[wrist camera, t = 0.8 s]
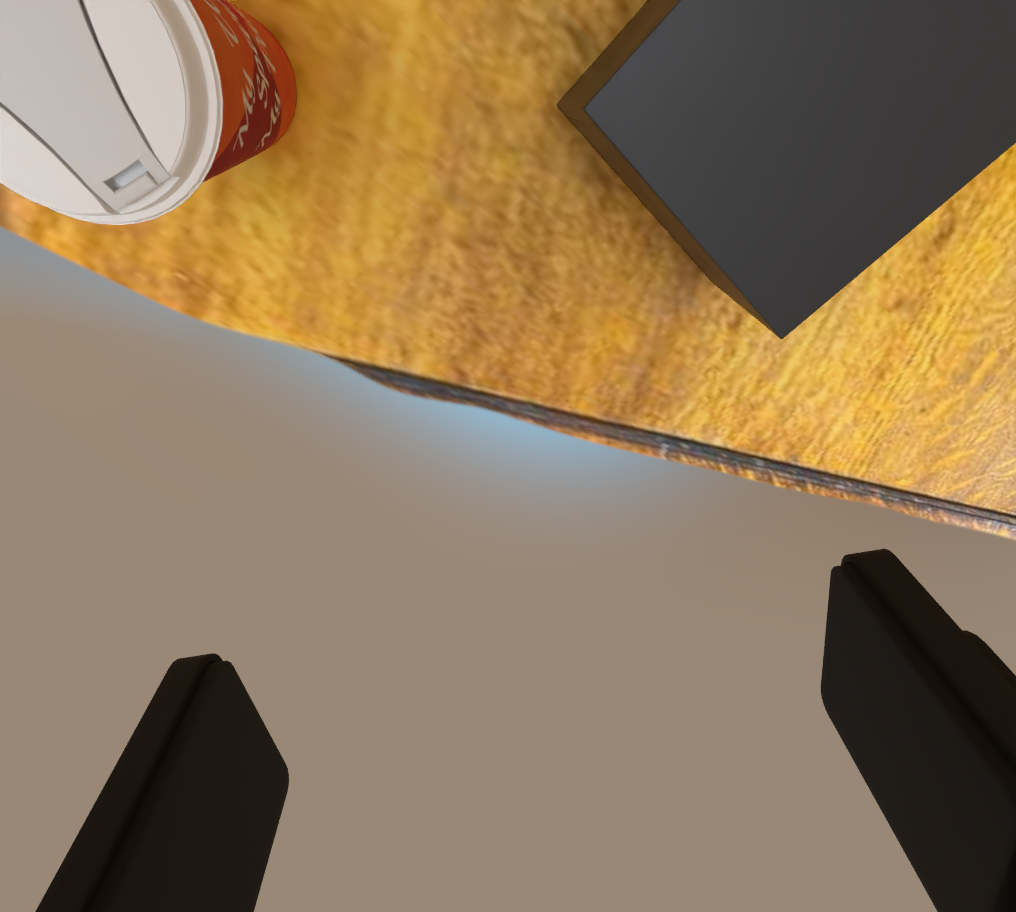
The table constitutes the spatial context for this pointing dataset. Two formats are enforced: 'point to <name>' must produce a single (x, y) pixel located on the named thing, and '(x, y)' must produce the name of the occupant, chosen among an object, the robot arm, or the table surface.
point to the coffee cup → (133, 101)
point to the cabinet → (799, 130)
